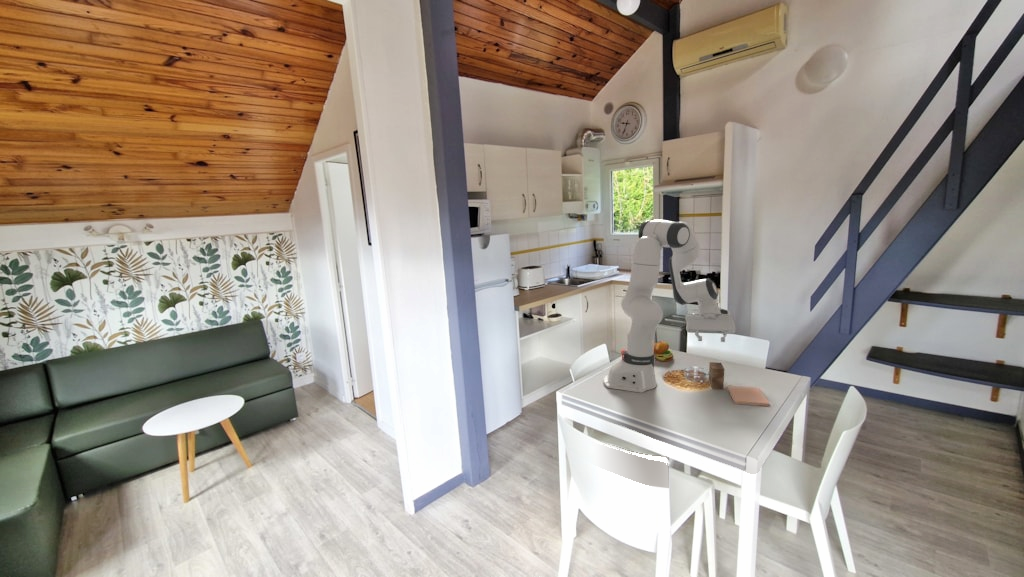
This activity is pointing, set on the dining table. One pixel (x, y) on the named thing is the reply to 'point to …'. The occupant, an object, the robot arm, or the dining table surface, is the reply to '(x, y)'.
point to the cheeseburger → (662, 352)
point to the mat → (747, 395)
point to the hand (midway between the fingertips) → (711, 341)
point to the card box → (716, 375)
